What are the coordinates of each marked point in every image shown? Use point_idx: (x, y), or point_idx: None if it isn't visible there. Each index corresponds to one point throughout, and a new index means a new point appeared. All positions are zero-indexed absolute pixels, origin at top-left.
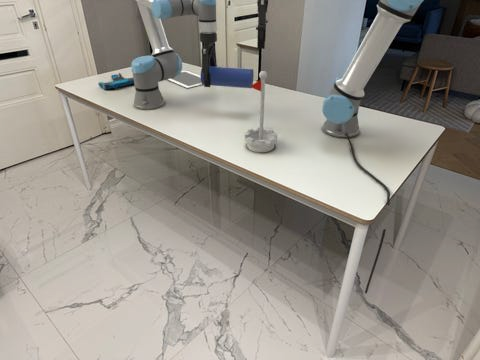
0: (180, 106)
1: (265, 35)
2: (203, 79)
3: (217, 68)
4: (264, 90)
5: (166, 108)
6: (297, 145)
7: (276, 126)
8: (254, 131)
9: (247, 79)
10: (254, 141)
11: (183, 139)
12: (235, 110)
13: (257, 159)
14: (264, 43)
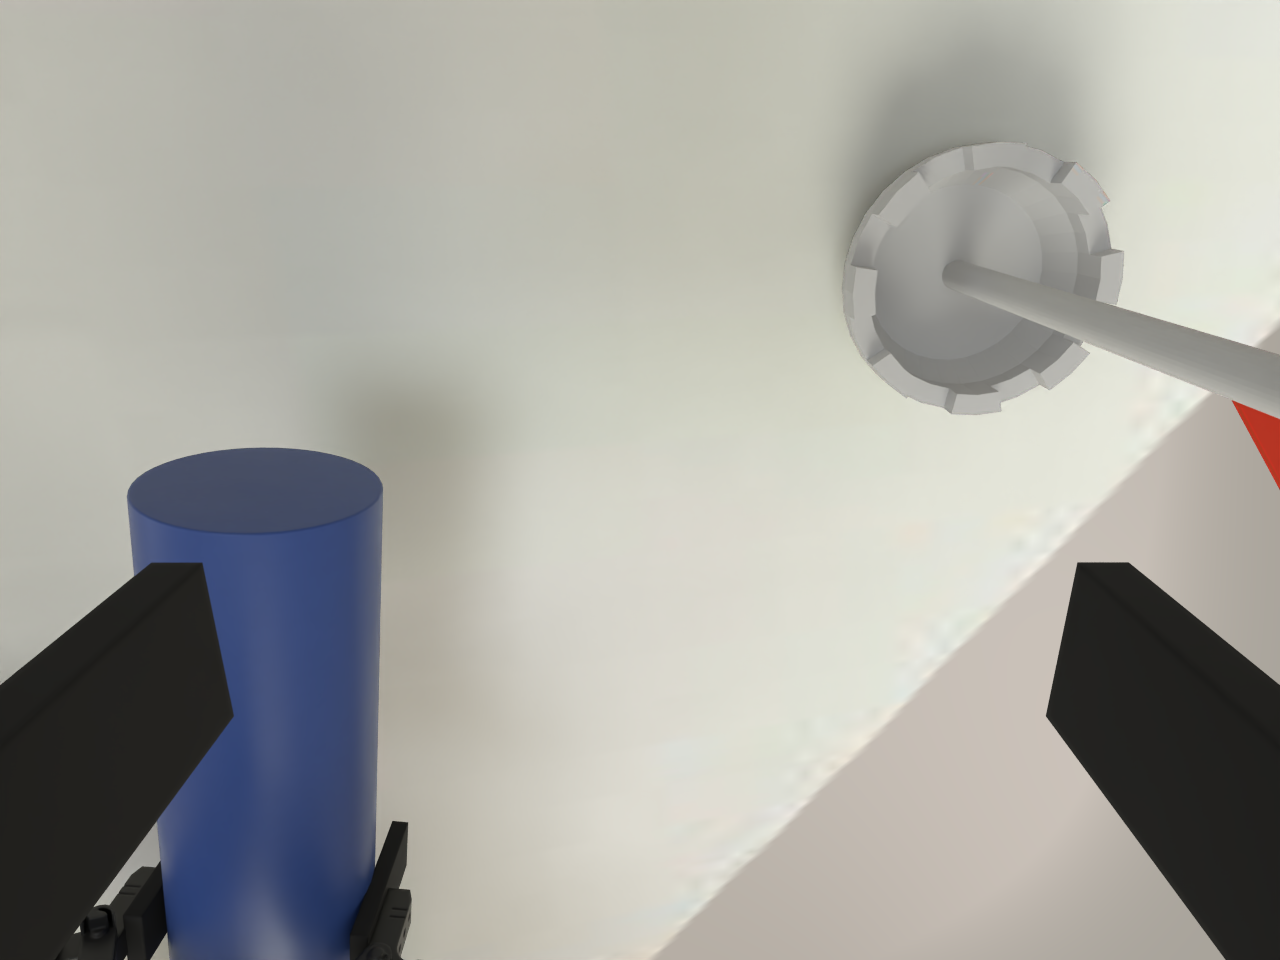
0: None
1: (111, 643)
2: None
3: (267, 901)
4: (1246, 345)
5: None
6: None
7: (578, 143)
8: (878, 338)
9: (369, 538)
10: (916, 324)
11: (831, 759)
12: None
13: (1141, 288)
14: (1210, 634)
